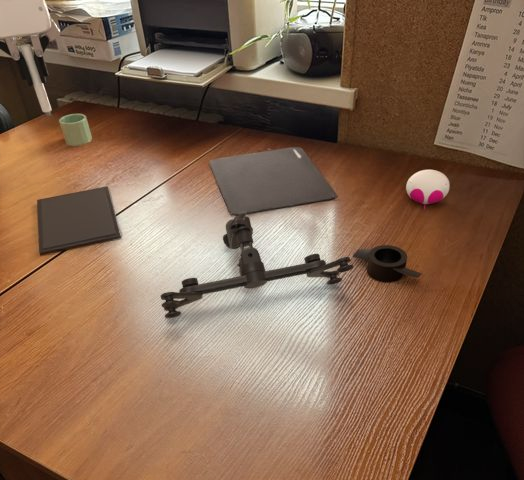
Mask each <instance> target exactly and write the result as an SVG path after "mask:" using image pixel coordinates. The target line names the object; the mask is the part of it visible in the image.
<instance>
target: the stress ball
mask: <svg viewBox="0 0 524 480" xmlns="http://www.w3.org/2000/svg"><path fill="white" fill-rule="evenodd" d="M450 187H451V186H450V180H449V178H448V177H447V176H446V175H445V174H444V173H443V172H441V171H438V170H436V169H435V170H434V169H422V170H419V171H417V172H415V173H414V174H412V175H411V176H410V177H409V178H408V180H407V182H406V186H405V191H406V193H407V196H408V197H409V198H410V199H411V200H413V201H414V202H416V203H417V204H421V205H423V210H425V209H426V205H432V204H436V203H438V202H440V201H442V200H443V199H444V198H445V197H447V196H448V194H449V191H450V189H451V188H450Z"/></svg>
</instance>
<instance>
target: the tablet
mask: <svg viewBox="0 0 524 480" xmlns="http://www.w3.org/2000/svg"><path fill="white" fill-rule="evenodd" d="M36 211H37V233H38V235H37V236H38V237H37V238H38V254H39V256H40V257H42V256H47V255H51V254H55V253H59V252H60V253H61V252H65V251H69V250H74V249H78V248H82V247H83V248H84V247H88V246H93V245H97V244H98V245H99V244H102V243H107V242H111V241H116V240H120V239H122V234H121V230H120V226H119V223H118V219H117V215H116V211H115V207H114V204H113V199H112V196H111V193H110V188H109V186H107V185H105V186H101V187H96V188H91V189H86V190H81V191H75V192H71V193H65V194H64V193H63V194H60V195H55V196H50V197H43V198H39V199H36Z"/></svg>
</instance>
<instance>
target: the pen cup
mask: <svg viewBox="0 0 524 480" xmlns="http://www.w3.org/2000/svg"><path fill="white" fill-rule="evenodd" d="M58 124H59V127H60V129H61V133H62V136H63V139H64V142H65V144H66V145H67V146H71V147H77V146H79V147H80V146H82V145H83V146H84V145H86V144H88V143H91V141H92V140H93V135H92V133H91V129H90V126H89V122H88V119H87V116H86V115H85V114H83V113H71V114H67V115H64V116H61V117H60V118H59V119H58Z"/></svg>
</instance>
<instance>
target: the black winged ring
mask: <svg viewBox="0 0 524 480" xmlns="http://www.w3.org/2000/svg"><path fill="white" fill-rule="evenodd" d="M352 258H354V259H359V260H362V261H364V262H366V263H367V265H366V273H367V275H368V277H370V278H371V279H372V280H374V281H376V282H380V283H389V284H390V283H394V282H398V281H400V280H401V279H403V278H404V276H408V277H412V278H416V279H418V278H420V276H422V273H421V272H418V271H416V270H413V269H410V268H408V267H407V261H408V254H407V252H406V251H405V250H404V249H402V248H400V247H398V246H396V245H391V244H382V245H378V246H375V247H370V248H360V249H357V250H356V251H355V252H354V253H353V255H352Z"/></svg>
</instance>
